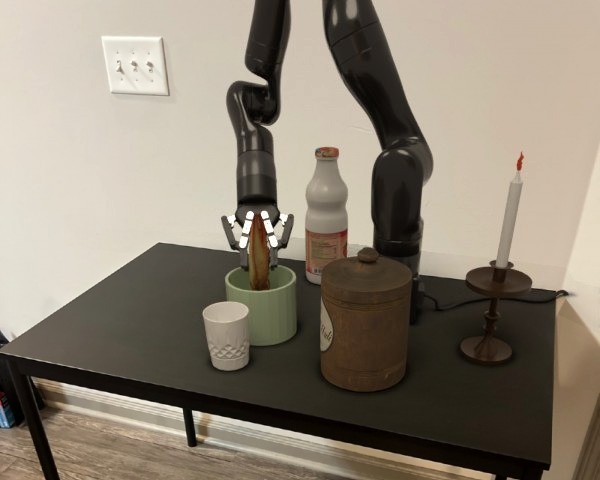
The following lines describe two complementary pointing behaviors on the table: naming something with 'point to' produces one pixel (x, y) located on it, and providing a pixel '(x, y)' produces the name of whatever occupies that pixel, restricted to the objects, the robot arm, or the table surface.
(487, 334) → the candlestick
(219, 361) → the white cup
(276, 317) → the crock
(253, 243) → the crab claw
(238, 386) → the table surface
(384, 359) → the wooden container
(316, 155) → the fruit juice
